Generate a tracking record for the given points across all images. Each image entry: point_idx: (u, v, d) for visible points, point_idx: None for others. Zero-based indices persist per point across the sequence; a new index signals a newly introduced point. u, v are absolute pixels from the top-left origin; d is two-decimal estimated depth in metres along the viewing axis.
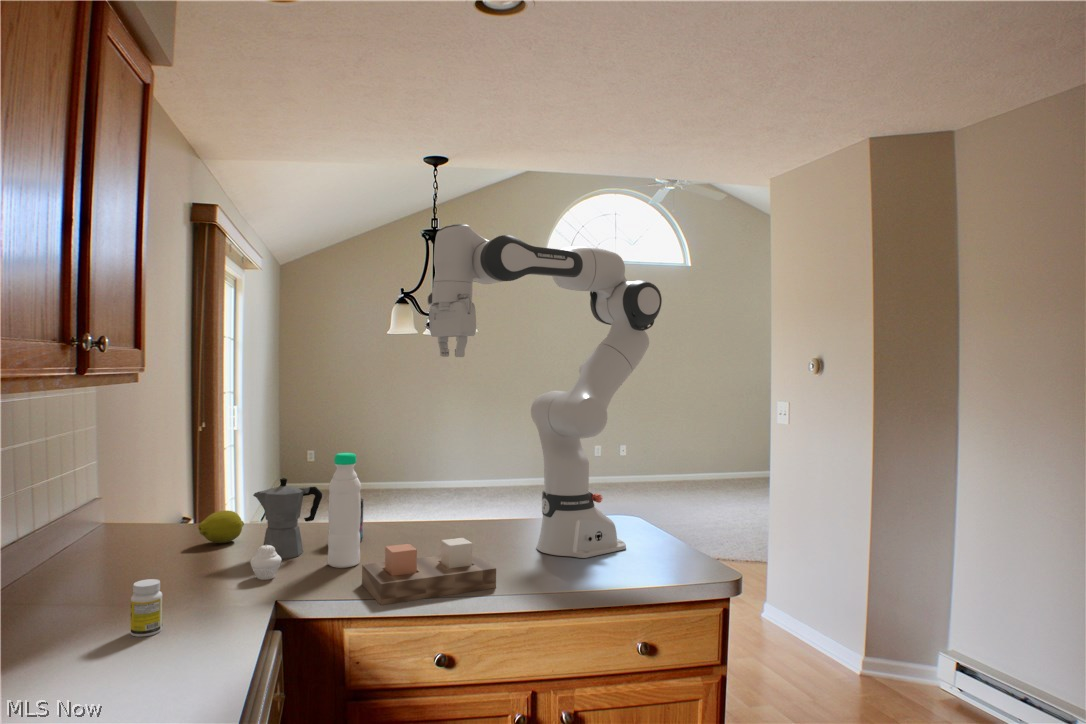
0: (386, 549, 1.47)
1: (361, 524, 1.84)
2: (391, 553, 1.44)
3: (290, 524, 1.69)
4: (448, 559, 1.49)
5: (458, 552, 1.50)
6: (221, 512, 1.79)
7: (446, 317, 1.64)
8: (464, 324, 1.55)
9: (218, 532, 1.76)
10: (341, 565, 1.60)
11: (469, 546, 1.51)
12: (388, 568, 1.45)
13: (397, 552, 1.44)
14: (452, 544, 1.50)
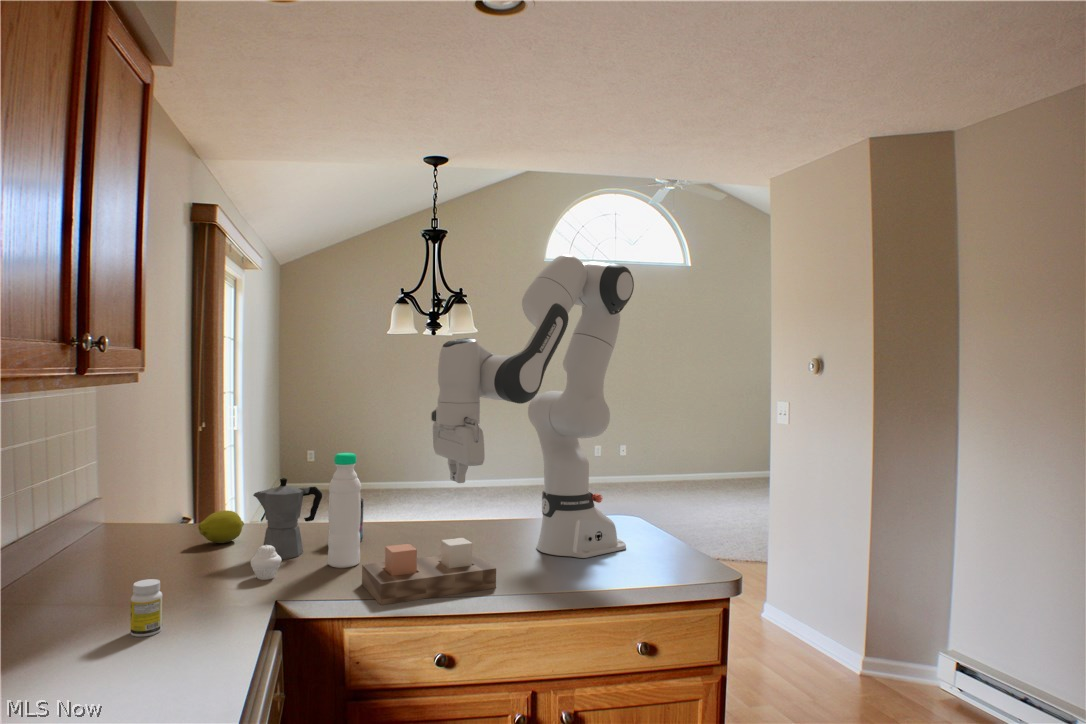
0: (386, 549, 1.47)
1: (361, 524, 1.84)
2: (391, 553, 1.44)
3: (290, 524, 1.69)
4: (448, 559, 1.49)
5: (458, 552, 1.50)
6: (221, 512, 1.79)
7: (451, 439, 1.51)
8: (471, 454, 1.43)
9: (218, 532, 1.76)
10: (341, 565, 1.60)
11: (469, 546, 1.51)
12: (388, 568, 1.45)
13: (397, 552, 1.44)
14: (452, 544, 1.50)
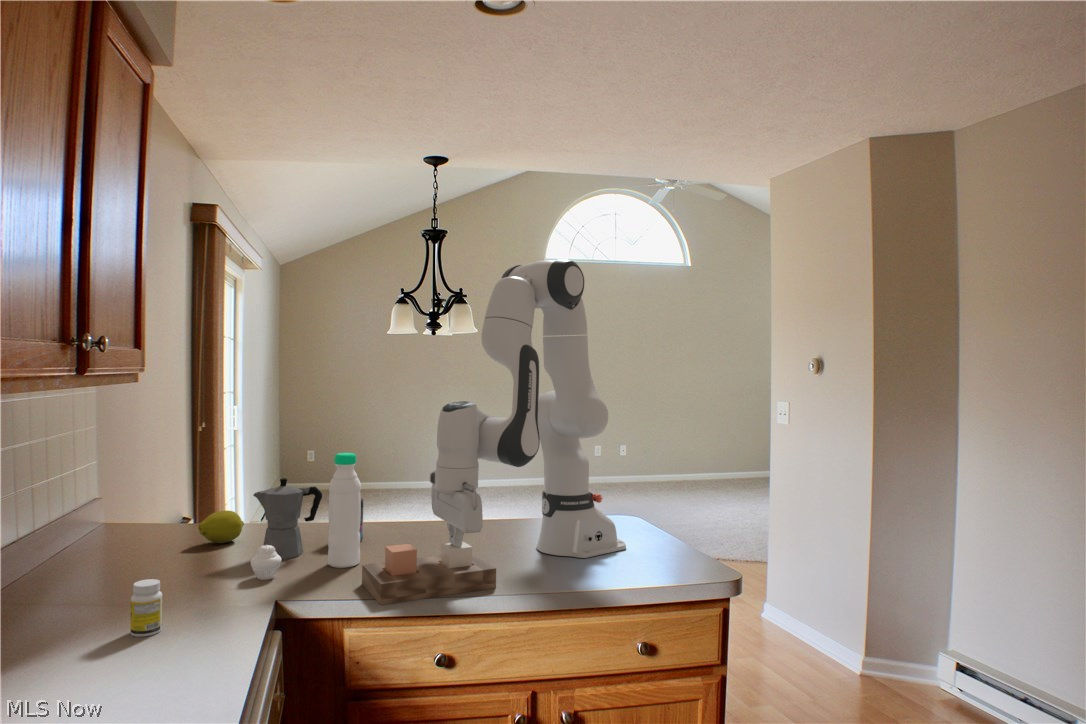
0: (386, 549, 1.47)
1: (361, 524, 1.84)
2: (391, 553, 1.44)
3: (290, 524, 1.69)
4: (448, 563, 1.49)
5: (458, 556, 1.50)
6: (221, 512, 1.79)
7: (450, 503, 1.51)
8: (469, 522, 1.43)
9: (218, 532, 1.76)
10: (341, 565, 1.60)
11: (469, 550, 1.51)
12: (388, 568, 1.45)
13: (397, 552, 1.44)
14: (452, 548, 1.50)
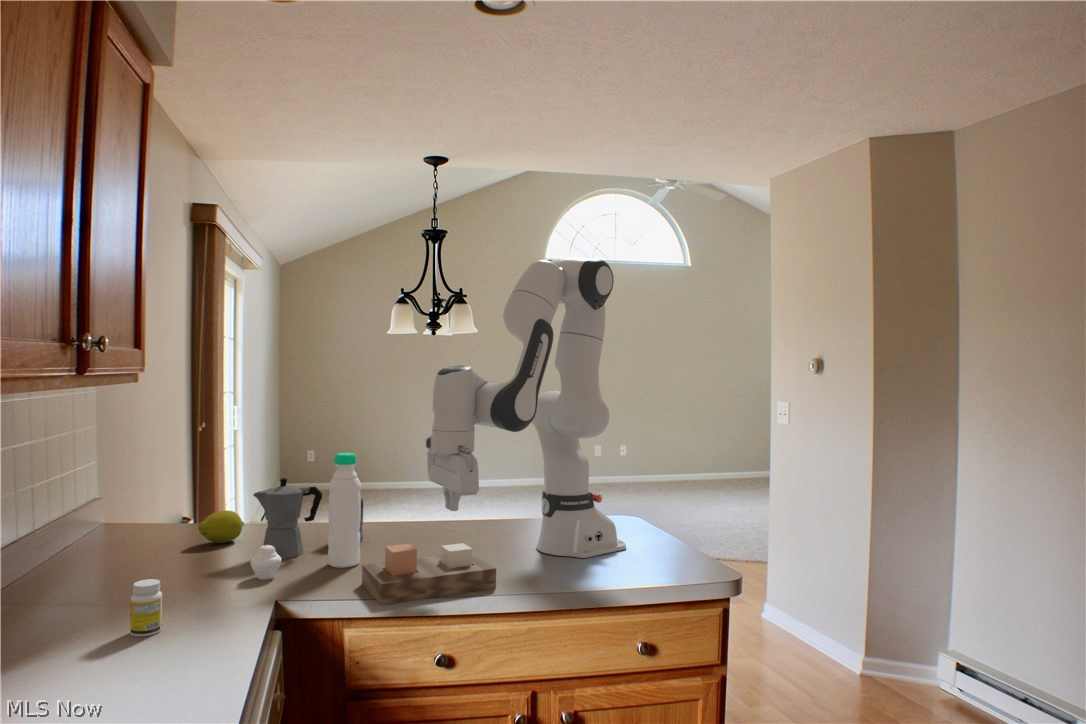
0: (386, 549, 1.47)
1: (361, 524, 1.84)
2: (391, 553, 1.44)
3: (290, 524, 1.69)
4: (448, 565, 1.49)
5: (458, 558, 1.50)
6: (221, 512, 1.79)
7: (446, 467, 1.50)
8: (465, 484, 1.42)
9: (218, 532, 1.76)
10: (341, 565, 1.60)
11: (469, 552, 1.51)
12: (388, 568, 1.45)
13: (397, 552, 1.44)
14: (452, 550, 1.50)
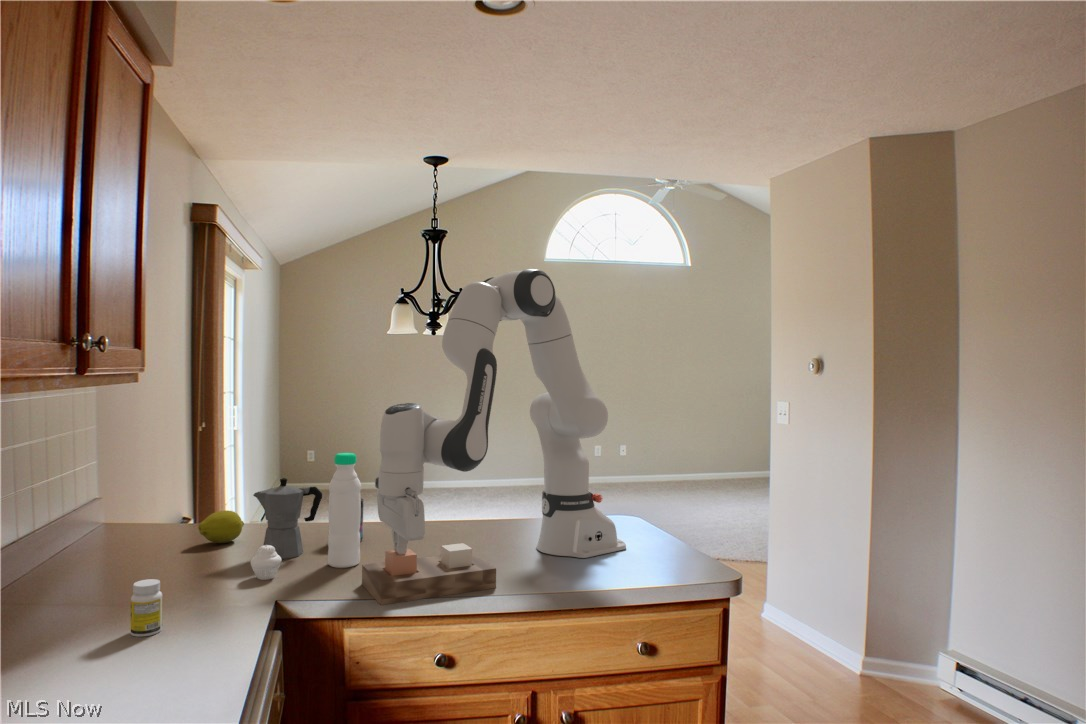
0: (386, 554, 1.47)
1: (361, 524, 1.84)
2: (391, 558, 1.44)
3: (290, 524, 1.69)
4: (448, 565, 1.49)
5: (458, 558, 1.50)
6: (221, 512, 1.79)
7: (393, 509, 1.45)
8: (410, 529, 1.37)
9: (218, 532, 1.76)
10: (341, 565, 1.60)
11: (469, 552, 1.51)
12: (388, 573, 1.45)
13: (397, 557, 1.44)
14: (452, 550, 1.50)
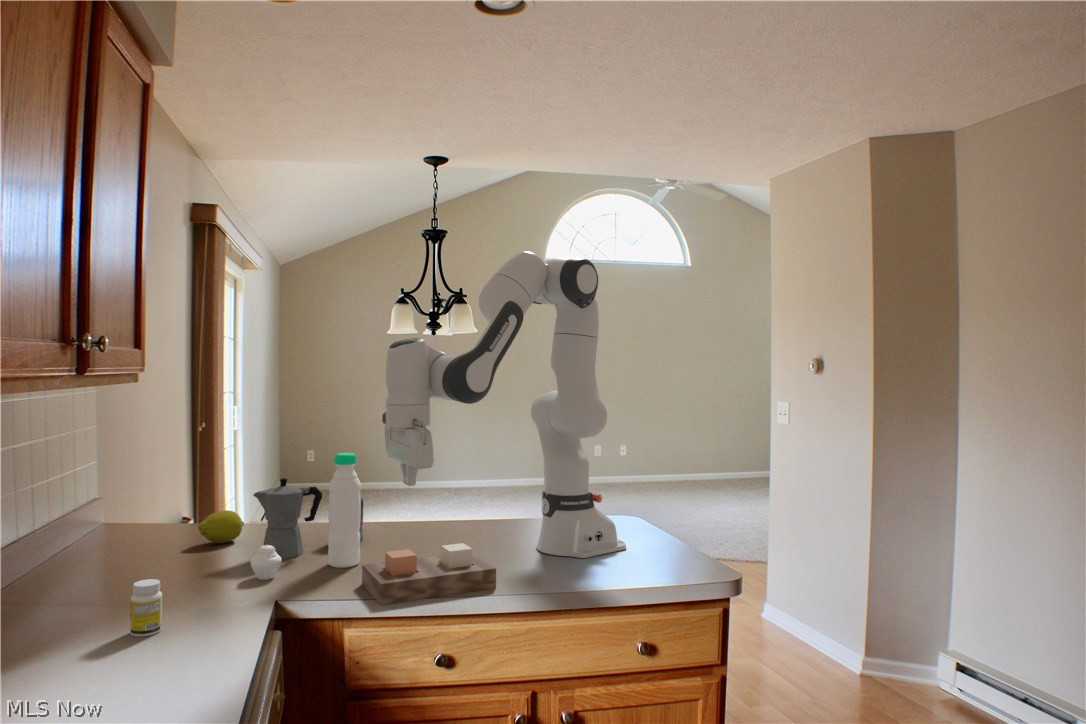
0: (386, 555, 1.47)
1: (361, 524, 1.84)
2: (391, 559, 1.44)
3: (290, 524, 1.69)
4: (448, 565, 1.49)
5: (458, 558, 1.50)
6: (221, 512, 1.79)
7: (401, 442, 1.48)
8: (419, 457, 1.40)
9: (218, 532, 1.76)
10: (341, 565, 1.60)
11: (469, 552, 1.51)
12: None
13: (397, 558, 1.44)
14: (452, 550, 1.50)
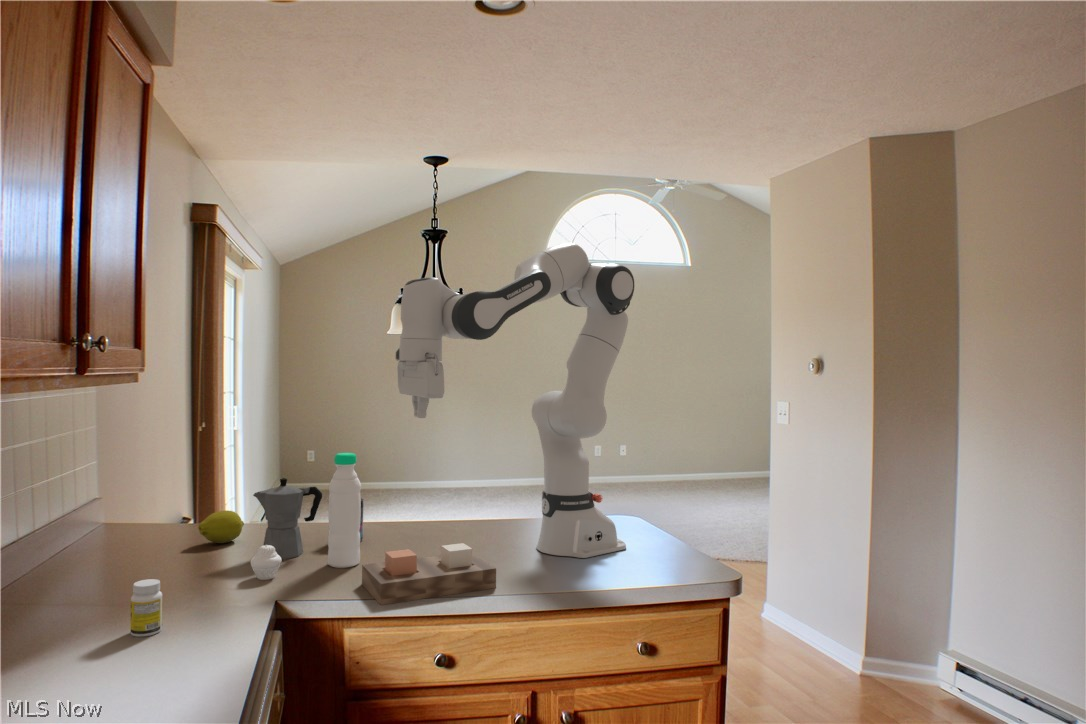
0: (386, 555, 1.47)
1: (361, 524, 1.84)
2: (391, 559, 1.44)
3: (290, 524, 1.69)
4: (448, 565, 1.49)
5: (458, 558, 1.50)
6: (221, 512, 1.79)
7: (414, 376, 1.54)
8: (431, 387, 1.46)
9: (218, 532, 1.76)
10: (341, 565, 1.60)
11: (469, 552, 1.51)
12: None
13: (397, 558, 1.44)
14: (452, 550, 1.50)
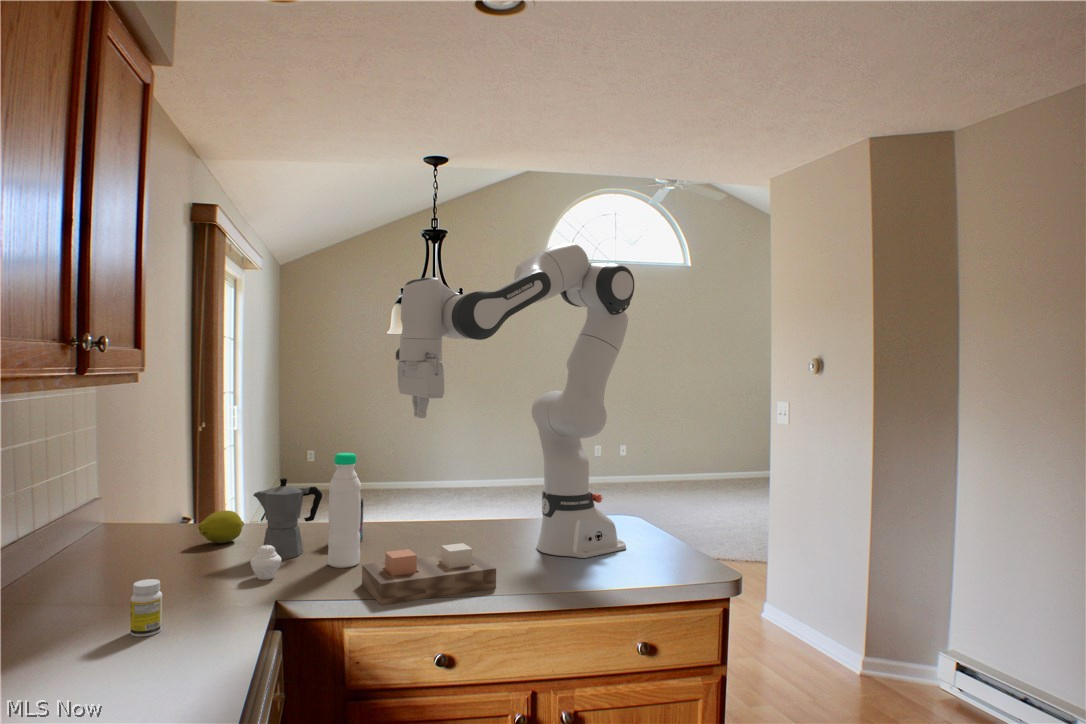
0: (386, 555, 1.47)
1: (361, 524, 1.84)
2: (391, 559, 1.44)
3: (290, 524, 1.69)
4: (448, 565, 1.49)
5: (458, 558, 1.50)
6: (221, 512, 1.79)
7: (414, 376, 1.54)
8: (431, 387, 1.46)
9: (218, 532, 1.76)
10: (341, 565, 1.60)
11: (469, 552, 1.51)
12: None
13: (397, 558, 1.44)
14: (452, 550, 1.50)
